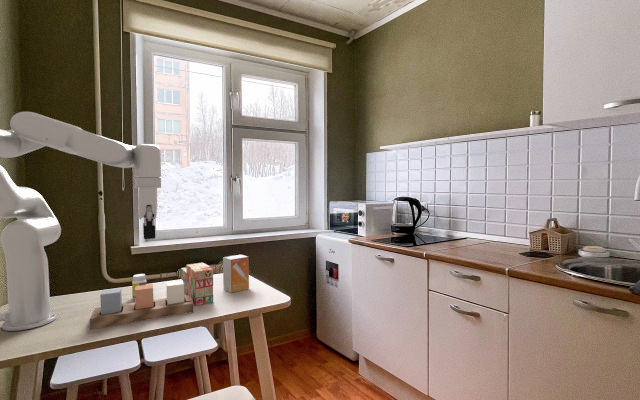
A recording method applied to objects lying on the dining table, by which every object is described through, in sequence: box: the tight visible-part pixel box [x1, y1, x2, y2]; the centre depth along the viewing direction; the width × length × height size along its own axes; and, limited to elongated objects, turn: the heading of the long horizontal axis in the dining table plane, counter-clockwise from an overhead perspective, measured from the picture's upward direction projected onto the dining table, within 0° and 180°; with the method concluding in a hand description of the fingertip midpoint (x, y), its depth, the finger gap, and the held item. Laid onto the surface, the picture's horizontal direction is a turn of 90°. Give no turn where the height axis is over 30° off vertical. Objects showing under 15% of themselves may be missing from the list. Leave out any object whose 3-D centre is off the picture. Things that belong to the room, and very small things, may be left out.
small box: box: [222, 254, 250, 293], centre depth 134 cm, size 8×6×13 cm
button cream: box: [165, 279, 185, 305], centre depth 112 cm, size 5×5×6 cm
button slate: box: [99, 287, 123, 315], centre depth 104 cm, size 5×5×6 cm
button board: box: [89, 294, 194, 330], centre depth 108 cm, size 28×10×3 cm, turn 116°
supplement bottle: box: [131, 273, 148, 300], centre depth 126 cm, size 5×5×8 cm
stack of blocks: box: [180, 262, 214, 307], centre depth 126 cm, size 21×6×12 cm, turn 34°
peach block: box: [134, 283, 154, 309], centre depth 108 cm, size 5×5×6 cm
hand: (149, 236), depth 109 cm, fingers open, 9 cm apart
